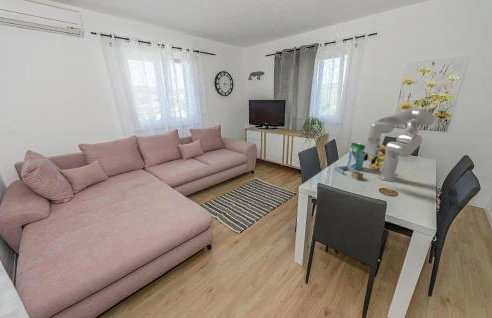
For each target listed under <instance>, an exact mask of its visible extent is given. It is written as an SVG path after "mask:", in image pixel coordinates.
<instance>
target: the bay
mask: <svg viewBox="0 0 492 318" xmlns="http://www.w3.org/2000/svg"><path fill="white" fill-rule="evenodd" d="M345 170H346V171H349V172H350V173H352V172H355V171H356V170H355V169H353V168H351V167H349V166H348V165H343V166H342V165H341V166H335V169H334V171H335V172H337V173H339V174H340V175H344V174H345Z"/></svg>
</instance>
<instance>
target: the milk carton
mask: <svg viewBox="0 0 492 318" xmlns="http://www.w3.org/2000/svg"><path fill="white" fill-rule="evenodd" d="M365 145H366V144H365ZM365 145H364V143H362V142H358V143H357V142H351V146H350V151H349V155H348V160H347V166H349V167H351V168H353V169H355V171H359V170H363V165H364V162H365V161H364V153H363V151H362V150H363V149H364V148H365Z"/></svg>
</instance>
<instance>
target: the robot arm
mask: <svg viewBox="0 0 492 318" xmlns="http://www.w3.org/2000/svg"><path fill="white" fill-rule="evenodd" d="M435 121H436V116H435V114H433V113H432V112H430V111H428V110H426V109H424V108H415V107H414V108H413V107H412V108H411V107H409V108H406V109H404V110H403V111H401V112H399V113H397V114H394V115H389V116H386V117H382V118H379V119H378V120H375V121H374V122H373V123H371V124H370V129H369V133H368V138H367V141H366V143H365V148H364V149H363V150H362V151H363V153H364V162H366V161H368V160H369V159H368V158H369V156H370V155H371V156H372V159H371V165H375V164H376V161H377V159H378V158H380V157H381V156H382V155H381V153H380V152H381V141H382V139H381V137H382V134H391V133H392V132H393V131H394V128H395V126H401V125H404V124H405V123H407V125H406V128H405V129H404V130H403V131H402V132H401V133H400V134H399V135H398V136H397V137H396V139H395V140H396V141H388V142H387V143H386V145H385V148H384V149H385V150H384V151H385V154H384V159H383V162H382V167H381V170H380V174H378V175H377V178H378V179H380V180H381V181H382V180H383V181H385V182H395V181H396V180H397V178H396V177H398V176H399V173H396V172H397V168H398V164H399V156H400V157H405V158H406V157H409V156H410V155H412V154H413V153H414V152H415V151H416V150H417V149H418V148H419V147H420V146H421V144H422V141H423V137H422V136H421V135H419V134H418V133H419V127H418V125H420V126H431V125H434V123H435Z"/></svg>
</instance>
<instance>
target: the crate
mask: <svg viewBox="0 0 492 318" xmlns="http://www.w3.org/2000/svg"><path fill="white" fill-rule="evenodd" d="M350 178H352V179H354V180H356V181H359V180H363V178H364V173H363V172H360V171H359V170H355V172H351V177H350Z"/></svg>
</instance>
